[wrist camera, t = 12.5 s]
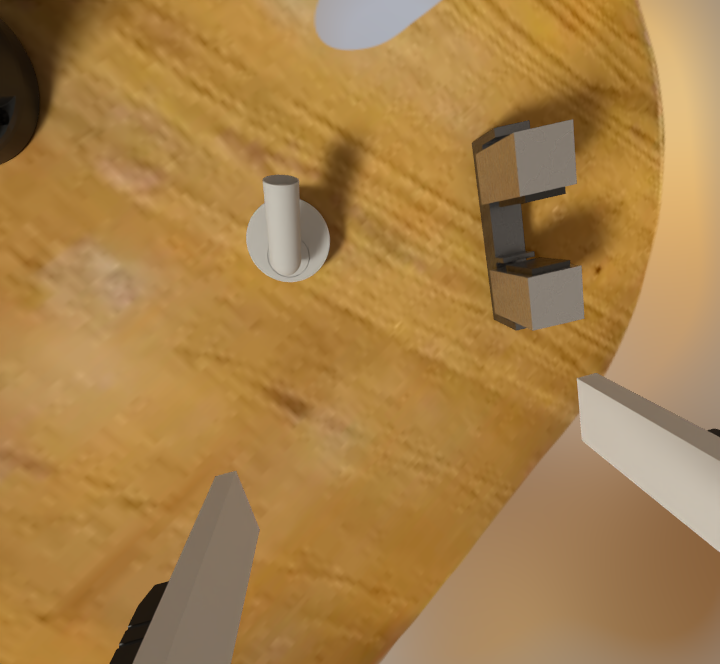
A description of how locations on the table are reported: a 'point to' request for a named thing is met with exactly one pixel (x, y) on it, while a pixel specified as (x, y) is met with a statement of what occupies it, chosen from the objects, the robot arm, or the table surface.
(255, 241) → the wall hook
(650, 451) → the robot arm
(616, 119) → the table surface
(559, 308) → the light grey block
